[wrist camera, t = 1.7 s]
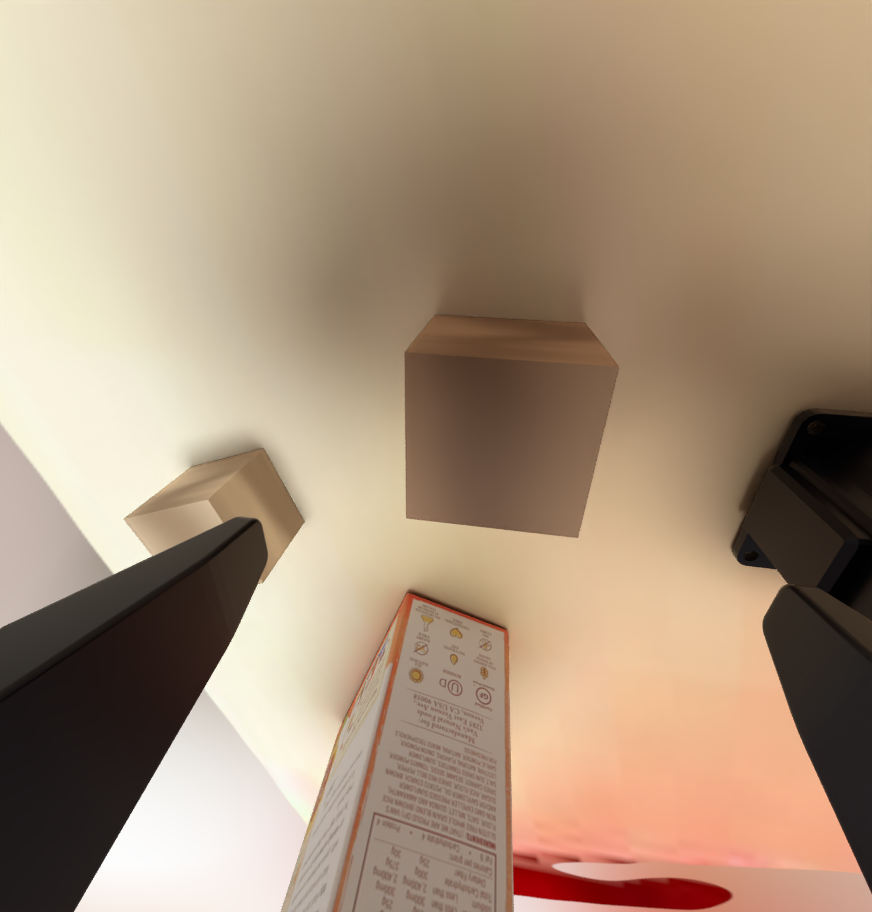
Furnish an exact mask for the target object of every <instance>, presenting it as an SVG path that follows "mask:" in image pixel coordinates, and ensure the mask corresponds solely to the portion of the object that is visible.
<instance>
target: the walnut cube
mask: <svg viewBox="0 0 872 912" xmlns="http://www.w3.org/2000/svg"><path fill="white" fill-rule="evenodd" d="M618 370H619V366H618V365H617V363H616V362H615V361H614V360H613V358H612V357H611V356H610V354H609V353H608V352H607V351H606V349H605V348H604V347H603V345H602V344H601V343H600V342H599V340H598V339H597V338H596V336H595V335H594V334H593V333H592V331H591V330H590V329H589V327H588V326H587V325H586V324H585V323H573V322H555V321H538V320H520V319H502V318H485V317H467V316H449V315H434V317H433V318H432V319H431V320H430V322H429V323H428V324H427V325H426V327H425V328H424V329H423V330H422V332H421V333H420V334H419V335H418V337H417V338H416V339H415V340H414V341H413V343H412V344H411V345H410V346H409V348H408V349H407V350H406V351H405V439H406V518H408V519H417V520H426V521H434V522H443V523H452V524H461V525H469V526H478V527H487V528H496V529H504V530H513V531H522V532H531V533H539V534H548V535H557V536H566V537H574V538H578V535H579V531H580V527H581V523H582V519H583V515H584V511H585V506H586V502H587V498H588V494H589V490H590V486H591V482H592V477H593V473H594V469H595V465H596V461H597V457H598V453H599V448H600V444H601V440H602V436H603V432H604V428H605V423H606V419H607V415H608V411H609V407H610V403H611V399H612V394H613V390H614V386H615V382H616V378H617V374H618Z"/></svg>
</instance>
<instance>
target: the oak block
mask: <svg viewBox="0 0 872 912" xmlns="http://www.w3.org/2000/svg"><path fill="white" fill-rule="evenodd" d="M239 516H242V517H250V518H256V519H258V520H260V522H261V523H262V526H263V531H264V535H265V540H266V545H267V549H268V560H267V564H266V566H265V569H264V571H263V573H262V575H261V578H260V580H259V582H258V584H260V583H263V582H264V581H265V579H266V578H267V576H268V575H269V573H270V572H271V570H272V569H273V567H274V566H275V564H276V563H277V562H278V560H279V559H280V557H281V556H282V554H283V553H284V551H285V550H286V548H287V547H288V545H289V544H290V542H291V541H292V539H293V538H294V537H295V535H296V534H297V532H298V531H299V529H300V528H301V526H302V525H303V523H304V520H303V518H302V516H301V514H300V513H299V511H298V509H297V507H296V505H295V504H294V502H293V500H292V498H291V496H290V495H289V493H288V491H287V489H286V487H285V486H284V484H283V482H282V480H281V479H280V477H279V475H278V473H277V471H276V470H275V468H274V466H273V464H272V462H271V461H270V459H269V457H268V455H267V453H266V452H265V450H264V448H262V449H258V450H255V451H251V452H247V453H243V454H239V455H235V456H232V457H228V458H224V459H220V460H216V461H212V462H209V463H205V464H201V465H197V466H193V467H190V468H189V469H188V470H187V471H185V472H184V473H183V474H181V475H180V476H179V477H177V478H176V479H175V480H174V481H172V482H171V483H170V484H168V485H167V486H166V487H164V488H163V489H162V490H161V491H159V492H158V493H157V494H155V495H154V496H153V497H152V498H150V499H149V500H148V501H146V502H145V503H144V504H142V505H141V506H140V507H139V508H137V509H136V510H135V511H133V512H132V513H131V514H129V515H128V516H127V517H126V518H124V520H125V522H126V523H127V524H128V525H129V527H130V528H131V529H132V531H133V532H134V533H135V534H136V536H137V537H138V538H139V540H140V541H141V542H142V543H143V545H144V546H145V547H146V548H147V550H148V551H149V552H150V554H151V555H152V556H154V555H156V554H158V553H160V552H163V551H165V550H167V549H169V548H171V547H173V546H175V545H177V544H179V543H182V542H184V541H186V540H188V539H190V538H192V537H194V536H196V535H198V534H201V533H203V532H205V531H207V530H209V529H211V528H213V527H215V526H218V525H220V524H222V523H224V522H226V521H228V520H230V519H232V518H235V517H239Z"/></svg>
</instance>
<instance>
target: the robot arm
mask: <svg viewBox="0 0 872 912" xmlns="http://www.w3.org/2000/svg"><path fill="white" fill-rule="evenodd" d="M814 421H818V423H817V424H816V426H815V427H813V428H811V429H807V428H808V426H809V425H810V424H811V423H812V422H814ZM749 551H752V552H751V553H749V554H746V553H747V552H749ZM732 552H733V555H734V556H735V558H736V559H737V561H738V562H739V563H740V564H742V565H746V566H753V567H762V568H770V569H777V570H778V572H779V573H780V574H781V575H782V577H783V578H784V579H785V581H786V582H787V583H788V584H786V585H784V586H783V587H781V589H780V590H779V592H778V593H777V595H776V597H775V599H774V600H773V602H772V604H771V606H770V607H769V609H768V611H767V613H766V614H765V616H764V619H763V633H764V636H765V639H766V642H767V645H768V648H769V651H770V654H771V656H772V659H773V662H774V665H775V668H776V671H777V674H778V677H779V680H780V683H781V685H782V688H783V691H784V694H785V697H786V700H787V703H788V706H789V709H790V712H791V714H792V717H793V720H794V722H795V725H796V727H797V730H798V732H799V735H800V737H801V739H802V742H803V744H804V746H805V749H806V751H807V753H808V755H809V757H810V760H811V762H812V764H813V766H814V768H815V771H816V773H817V775H818V777H819V779H820V781H821V784H822V786H823V788H824V790H825V792H826V795H827V797H828V799H829V801H830V803H831V806H832V808H833V810H834V812H835V814H836V817H837V819H838V821H839V823H840V825H841V827H842V830H843V832H844V834H845V836H846V838H847V841H848V843H849V845H850V847H851V849H852V852H853V854H854V856H855V858H856V860H857V863H858V865H859V867H860V869H861V871H862V873H863V875H864V878H865V880H866V882H867V884H868V886H869V889H870V891H871V893H872V413H865V412H852V411H838V410H825V409H809V410H806V411H803V412H801V413H800V414H799V415H797V416H796V417H795V419H794V420H793V422H792V424H791V426H790V428H789V430H788V432H787V434H786V437H785V439H784V441H783V443H782V445H781V447H780V449H779V451H778V453H777V456H776V458H775V460H774V462H773V464H772V466H771V468H770V469H769V470H768V471H767V473H766V475H765V477H764V479H763V481H762V483H761V485H760V487H759V490H758V492H757V494H756V496H755V498H754V500H753V502H752V504H751V507H750V509H749V511H748V513H747V515H746V517H745V519H744V521H743V527H742V529H741V532H740V534H739V536H738V538H737V540H736V542H735V544H734V546H733V550H732ZM267 560H268V549H267V545H266V540H265V535H264V531H263V526H262V523H261V522H260V520H258V519H256V518H250V517H242V516H239V517H235V518H232V519H230V520H228V521H226V522H224V523H222V524H220V525H218V526H215V527H213V528H211V529H209V530H207V531H205V532H203V533H201V534H198V535H196V536H194V537H192V538H190V539H188V540H186V541H184V542H182V543H179V544H177V545H175V546H173V547H171V548H169V549H167V550H165V551H163V552H160V553H158V554H156V555H154V556H152V557H150V558H148V559H146V560H143V561H141V562H139V563H137V564H135V565H133V566H131V567H129V568H127V569H124V570H122V571H120V572H118V573H116V574H114V575H112V576H110V577H108V578H105V579H103V580H101V581H99V582H97V583H95V584H93V585H91V586H89V587H87V588H84V589H82V590H80V591H78V592H76V593H74V594H72V595H69V596H67V597H65V598H63V599H61V600H59V601H57V602H55V603H52V604H50V605H48V606H46V607H44V608H42V609H40V610H38V611H36V612H34V613H31V614H29V615H27V616H25V617H23V618H21V619H19V620H17V621H14V622H12V623H10V624H8V625H6V626H4V627H2V628H1V629H0V912H74V911H75V909H76V907H77V906H78V904H79V902H80V900H81V899H82V897H83V895H84V893H85V892H86V890H87V888H88V886H89V885H90V883H91V881H92V880H93V878H94V876H95V875H96V873H97V871H98V869H99V868H100V866H101V864H102V862H103V861H104V859H105V857H106V856H107V854H108V852H109V850H110V849H111V847H112V845H113V844H114V842H115V840H116V838H117V837H118V835H119V833H120V831H121V830H122V828H123V826H124V825H125V823H126V821H127V820H128V818H129V816H130V814H131V813H132V811H133V809H134V807H135V806H136V804H137V802H138V800H139V799H140V797H141V795H142V794H143V792H144V790H145V789H146V787H147V785H148V783H149V782H150V780H151V778H152V777H153V775H154V773H155V771H156V770H157V768H158V766H159V765H160V763H161V761H162V759H163V757H164V756H165V754H166V752H167V751H168V749H169V747H170V746H171V744H172V742H173V740H174V739H175V737H176V735H177V734H178V732H179V730H180V728H181V727H182V725H183V723H184V722H185V720H186V718H187V716H188V715H189V713H190V711H191V710H192V708H193V706H194V704H195V703H196V701H197V699H198V697H199V696H200V694H201V692H202V691H203V689H204V687H205V685H206V684H207V682H208V680H209V679H210V677H211V675H212V673H213V672H214V670H215V668H216V667H217V665H218V663H219V661H220V660H221V658H222V656H223V654H224V653H225V651H226V649H227V647H228V646H229V644H230V642H231V640H232V638H233V636H234V634H235V632H236V630H237V628H238V626H239V624H240V622H241V619H242V617H243V615H244V613H245V611H246V608H247V606H248V604H249V602H250V600H251V597H252V595H253V593H254V591H255V589H256V586H257V584H258V582H259V580H260V578H261V575H262V573H263V571H264V569H265V566H266V564H267Z"/></svg>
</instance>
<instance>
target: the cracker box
mask: <svg viewBox="0 0 872 912" xmlns="http://www.w3.org/2000/svg"><path fill="white" fill-rule="evenodd" d="M508 639H509V638H508V632H507V630H505V629H502V628H499V627H497V626H494V625H491V624H488V623H486V622H483V621H481V620H478V619H476V618H473V617H470V616H468V615H465V614H462V613H460V612H457V611H455V610H452V609H450V608H447V607H445V606H442V605H439V604H437V603H434V602H432V601H429V600H427V599H424V598H421V597H419V596H416V595H413V594H410V593H407V594H406V596H405V598H404V600H403V602H402V604H401V606H400V608H399V610H398V612H397V614H396V616H395V618H394V620H393V622H392V624H391V626H390V628H389V630H388V632H387V634H386V636H385V638H384V640H383V642H382V644H381V646H380V648H379V650H378V652H377V654H376V656H375V658H374V660H373V662H372V664H371V666H370V668H369V670H368V672H367V674H366V676H365V678H364V680H363V683H362V685H361V687H360V689H359V691H358V693H357V695H356V697H355V699H354V701H353V703H352V705H351V707H350V709H349V711H348V713H347V715H346V717H345V719H344V721H343V723H342V725H341V728H340V730H339V733H338V735H337V738H336V741H335V744H334V747H333V750H332V753H331V756H330V760H329V763H328V766H327V769H326V772H325V775H324V778H323V781H322V784H321V788H320V791H319V794H318V797H317V800H316V803H315V806H314V809H313V812H312V815H311V819H310V822H309V825H308V828H307V831H306V834H305V837H304V840H303V844H302V847H301V850H300V853H299V856H298V859H297V862H296V866H295V869H294V872H293V875H292V878H291V881H290V884H289V887H288V891H287V894H286V897H285V900H284V903H283V906H282V909H281V912H514V904H513V851H512V798H511V748H510V698H509V645H508Z"/></svg>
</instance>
